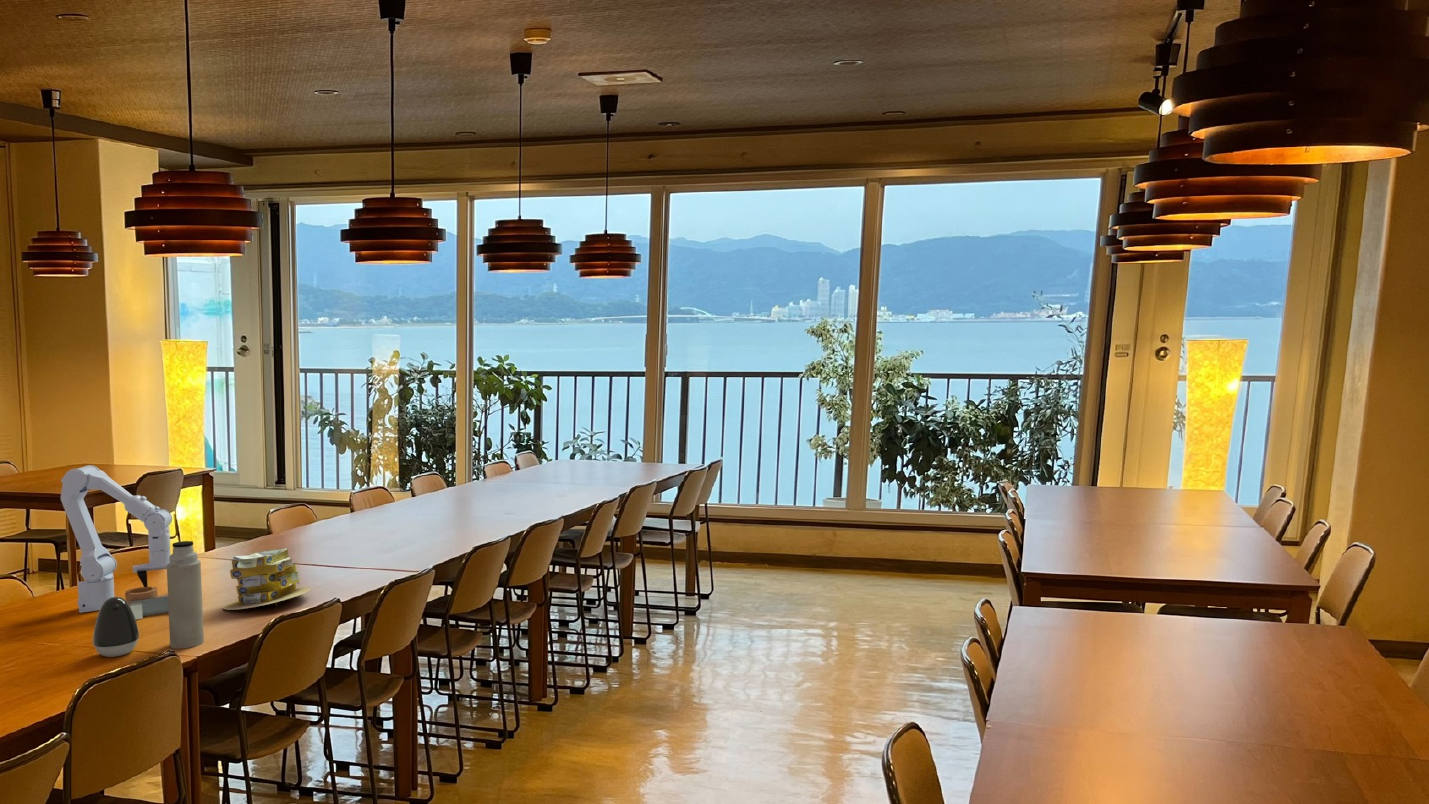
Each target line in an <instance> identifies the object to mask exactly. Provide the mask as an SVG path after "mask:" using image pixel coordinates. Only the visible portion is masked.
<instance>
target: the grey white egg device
mask: <svg viewBox="0 0 1429 804" xmlns="http://www.w3.org/2000/svg"><path fill="white" fill-rule="evenodd" d="M139 638H140V631H139V627H138V623H137V620H136V619H135V616H134V614H133V611H132V609H131V607H130V606H129V604H128V603H127V602H126V600H125V598H123V597H121V596H114V597H112V598H109V599H107V600H106V601H105V602H104V603H103V605H102V607H101V608H100V610H98V613H97V616H96V619H95V624H94V628H93V635H92V644H93V646H94V648H95V650H96V652H97V653H98V654H99V655H101V656H102V657H107V658H114V657H115V658H116V657H121V656H125V655H127V654H129V653H130V652H132V651H133V650H134V649H135V647H136V646H137V644H138V640H139Z"/></svg>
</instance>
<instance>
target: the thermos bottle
mask: <svg viewBox="0 0 1429 804" xmlns="http://www.w3.org/2000/svg"><path fill="white" fill-rule="evenodd" d="M193 545H194V541H193V540H192V541H191V540H183V541H176V542H173V543H172V554H171V555H170V556H169V561H170V563H168V564H167V569H166V578H167V579H166V581H167V583H166V584H167V594H168V608H169V613H168V626H169V627H168V628H169V629H168V630H169V631H168V632H169V646H170V648H172V649H181V650H182V649H189V648H193V647H197V646H200V645H202V644H204V642H205V640H204V639H205V637H204V635H205V634H204V633H205V631H204V614H203V612H204V610H203V593H202V591H203V590H202V588H203V587H202V567H201V560H199V559H198V557H199V555H198V552H196V551H194V546H193Z"/></svg>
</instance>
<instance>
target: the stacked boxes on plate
mask: <svg viewBox="0 0 1429 804" xmlns="http://www.w3.org/2000/svg"><path fill="white" fill-rule="evenodd" d="M294 560H295V559H293V557H289V550H288V548H286V547H285V548H282V549H278V548H277V549H270V550H267V549H266V550H263V551H258V552H256V551H255V553H250V554H249V555H234V556H233V557H232V560H231V565H232V569H230V570H229V571H230V578H231V579H233V580H235V579H236V580H237V585H236V587H235V588H236V593H237V600H235V601H232V602H230V603H227V604H225V605H224V606H223V607H222V608H223V609H224V610H226V611H228V610H229V611H231V610H232V611H233V610H244V609H250V608H251V609H252V608H256V607H261V606H265V605H270V604H275V607H278V603H279V602H281V601H286V600H290V599H292V598H295V597H298V596H300V595H303V594H306V593H308V592H310V591H311V590H312V588H311V587H309V586H297V585H296V584H298V585H300V579H299V572H298V571H297V566H296V563H297V561H296V560H295V562H294V563H293V561H294Z"/></svg>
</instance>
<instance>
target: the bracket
mask: <svg viewBox="0 0 1429 804" xmlns="http://www.w3.org/2000/svg"><path fill="white" fill-rule="evenodd" d="M124 596H125V597H124V600H126V602H127V603H128V604H129V606H130V600H138V599H146V598H153V597H161V596H168V593H165V594H164V593H163V594H160V595H158V587H156V586H153V587H152V586H148V587H144V586H142V587H135V588H131V589H128V590H126V591H125V592H124Z"/></svg>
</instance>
